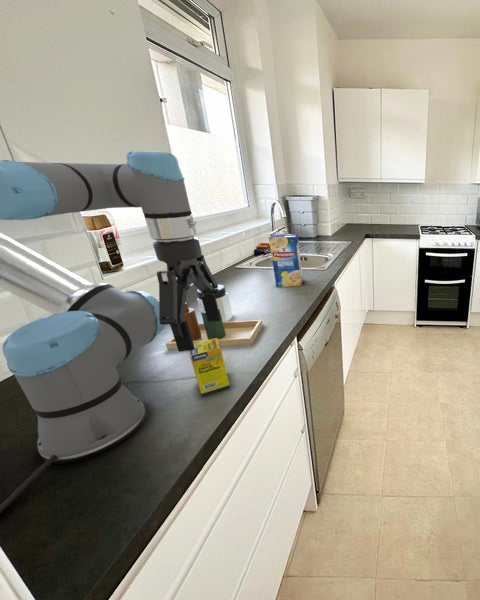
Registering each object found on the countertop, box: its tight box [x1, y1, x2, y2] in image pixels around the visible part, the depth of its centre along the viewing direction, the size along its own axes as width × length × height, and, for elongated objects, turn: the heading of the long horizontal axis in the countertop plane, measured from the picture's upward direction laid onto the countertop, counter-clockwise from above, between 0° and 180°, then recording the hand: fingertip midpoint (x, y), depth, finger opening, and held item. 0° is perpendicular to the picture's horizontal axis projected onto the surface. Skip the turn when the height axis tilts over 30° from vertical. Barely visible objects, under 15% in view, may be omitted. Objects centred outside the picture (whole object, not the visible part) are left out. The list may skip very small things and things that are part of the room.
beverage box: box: [268, 233, 304, 288], centre depth 139 cm, size 7×11×22 cm, turn 100°
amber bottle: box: [183, 302, 201, 341], centre depth 92 cm, size 5×5×11 cm
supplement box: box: [189, 338, 231, 397], centre depth 72 cm, size 6×6×11 cm
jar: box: [196, 284, 234, 323], centre depth 104 cm, size 9×8×12 cm
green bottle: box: [200, 307, 226, 340], centre depth 93 cm, size 5×5×11 cm
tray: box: [165, 319, 264, 351], centre depth 95 cm, size 13×23×3 cm, turn 98°
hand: (201, 334), depth 69 cm, fingers open, 13 cm apart
